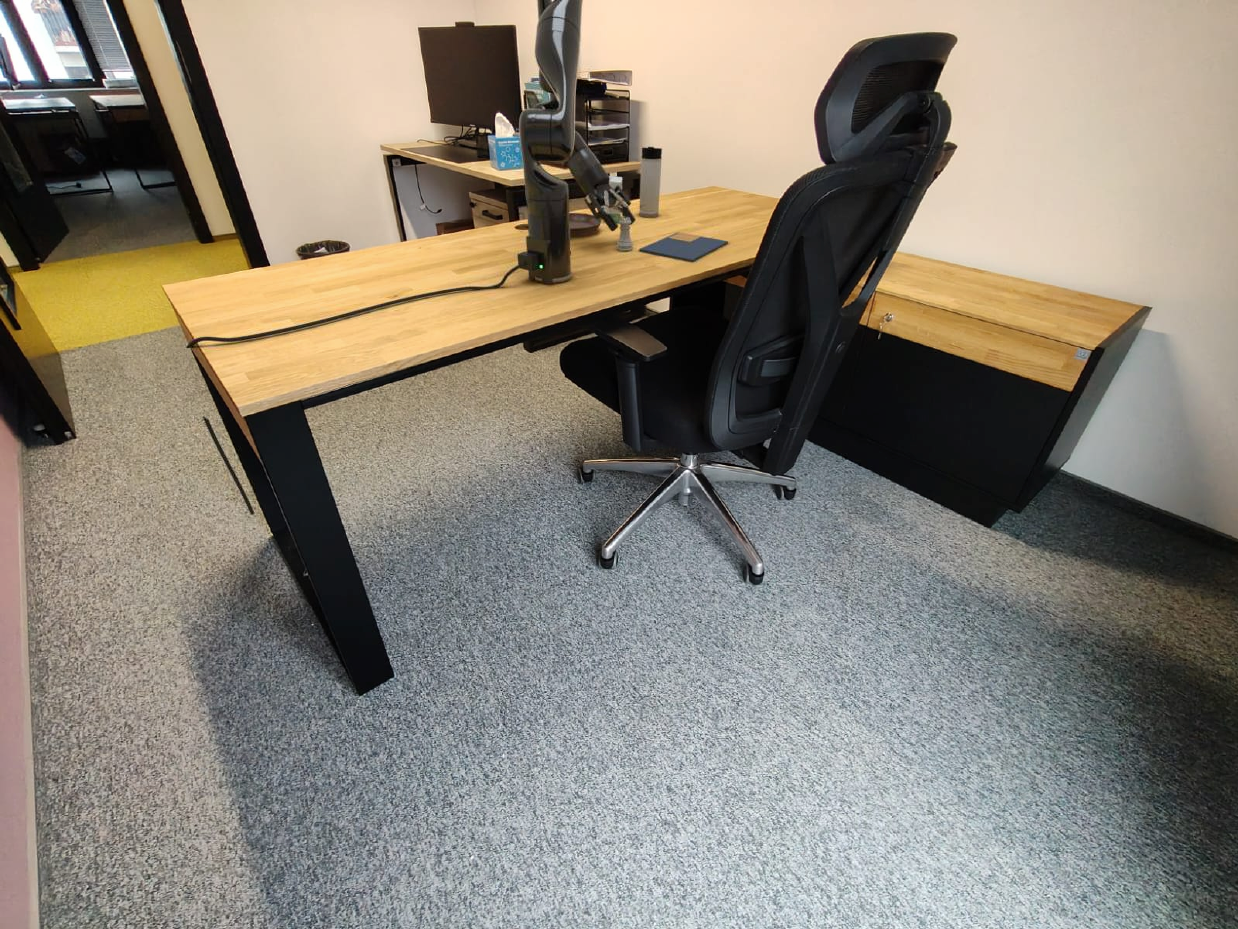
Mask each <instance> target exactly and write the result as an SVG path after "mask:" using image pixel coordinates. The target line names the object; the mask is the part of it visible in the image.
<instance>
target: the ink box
mask: <svg viewBox="0 0 1238 929" xmlns="http://www.w3.org/2000/svg"><path fill="white" fill-rule="evenodd" d="M608 176H609V178H610V181H609V185H610V186H611V187H612V188H613V189H614V188H615V187H616V186H617V185H618V186H620V188H621V189H622V190H623V177H622V176H610V175H608ZM616 202H617V200H616ZM619 206H620V205H619ZM620 207H621V206H620ZM621 208H622V207H621ZM608 209H609V214H611V216H612V217H613V219H614V220H615V222H616V223H617V224H620V223H619V221H620V219H621V217H622V213H621V212H620V211H618V210H617V209H616V210H614V209H613V208H608Z"/></svg>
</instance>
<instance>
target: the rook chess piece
mask: <svg viewBox="0 0 1238 929" xmlns="http://www.w3.org/2000/svg"><path fill="white" fill-rule="evenodd" d="M630 223H631V220H630V217H626V218H625V217H623V216H620V221H619V223H618V224H620V226H619V229H620V231H619V236H618V237H619V238H618V239H617V241H616V245H617V246H615V248H616V250H617V251H618V252H631V251H632V250H633V248H634V247H633V242H632V239H631V233H630V229H631V225H630Z"/></svg>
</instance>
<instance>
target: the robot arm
mask: <svg viewBox="0 0 1238 929" xmlns="http://www.w3.org/2000/svg"><path fill="white" fill-rule="evenodd" d="M583 3H584V0H537V1H536V4H537V19H538V20H537V25H536V33H535V42H534V57H535V62H536V64H537V65H536V66H537V67H538V86H539V87H540V89H541V90H542V91H543V92H545V93H548V94H549V100H546V101H542V102H539V103H536V104H535V105H534V106H533V107H532V108H525V109H523V110H522V112H521V113H520V116H519V120H518V122H519V123H518V127H519V128H518V133H519V144H520V152H521V158H522V168H523V169H522V170H523V179H524V181H523V182H524V189H525V202H526V216H527V217H526V218H527V231H528V235H526V236H525V245H526V251H523V252H522V251H521V252H519V253H517V254H516V255H517V265H515V266H514V267H512V268H511V269H509V270H508V272H506V273H505V274H504V276H503V278H502V279H501V281H500V282H498V283H496V284H493V285H490V286H472V285H471V286H461V287H454V288H448V289H447V288H446V289H442V290H436V291H430V292H426V293H425V292H424V293H420V294H416V295H415V294H414V295H411V296H406V297H402V298H398V299H395V300H390V301H386V302H382V303H379V304H375V305H371V306H367V307H364V308H359V309H356V310H351V311H348V312H345V313H341V314H338V315H333V316H330V317H326V318H322V319H317V320H313V321H309V322H306V323H302V324H297V325H292V326H288V327H284V328H278V329H274V330H269V331H264V332H259V333H254V334H253V333H252V334H248V335H242V336H235V337H219V336H199V337H196V338H194V339H192V340H191V341H190V342H189V343H188V344H187V345H186V347H185V349H192V348H194V346H196V345H197V344H198V343H201V342H218V343H219V342H220V343H235V342H243V341H249V340H254V339H260V338H264V337H269V336H275V335H279V334H283V333H288V332H292V331H297V330H302V329H306V328H309V327H314V326H318V325H322V324H326V323H329V322H333V321H337V320H341V319H344V318H345V319H346V318H348V317H351V316H355V315H360V314H363V313H366V312H371V311H374V310H377V309H380V308H385V307H389V306H392V305H396V304H401V303H405V302H410V301H413V300H418V299H422V298H428V297H432V296H437V295H442V294H443V295H444V294H449V293H456V292H461V291H482V290H483V291H484V290H485V291H486V290H494V289H498V288H500V287H502V285H504V284H505V283H506V281H507V279H508V278H509V277H510V275H512V274H513V273H514V272H515V271H518V270H519V269H522V270H526V271H527V272H528V273H527V274H528V280H530V281H534V282H539V283H542V284H547V285H552V284H559V283H564V282H567V281H569V280H571V279H572V277H573V274H572V260H571V256H572V250H571V236H570V219H569V213H570V191H569V190H570V189H569V184H568V183H567V181H565V180H564V179H561V178H559V177H557V176H554V174H551V173H549V172H548V171H547V170H546V169H544V167H543V166H542V164H541V162H545V163H546V162H548V163H563V162H564V163H565V165H566V166H567V168H568V170H569V172H570V174H571V175H572V177H573V178H574V180H575V181H576V183H577V185H578V186H579V187H580V189H581V190H582V192H583V193H584V195H585V196H586V197H585V198H584V199H583V201H584V203H585V204H586V206H587V207H588V209H589V211H590V212H591V215H594V217H595V218H596V219H598V218H601V220H602V221H604V223H605V224H606V226H607V228H608V229H609V230H610V231H611V232H615V231H616V230H617V229H618V227H619V225H618V223H616V222H615V220H614V219H613V217H612V216H611V214H609V209H608V208H613V209H614V210H616V209H617V210H618V211H620V212H621V216H622V218H623V217H625V218H626V217H630V220H631V223H630V225H629V226H632V225H633V224H634V223H635V222H636V218H635V216H634V214H633V213H632V212H631V210H630V209H629V208H630V206H631V205H632V202H631V200H630V199H629V198H628V196H627V194H626V193H625V192H624V191H623V188H622V189H621V188H620V186H618V185H617V186H616V187H615V188H614V189H613V188H612V187H611V186H610V185H609V181H610V178H609V176H610V175H609V174H608V173H607V171H606V170H605V168H604V166H602V164H601V162H600V161H599V159H598V158H597V156H596V155H595V153H594V152H593V151H592V150H591V149H590V147H589V146H588V145H587V143H586V141H585V140H584V139H583V136H581V134H580V133H579V132H578V131H577V130H576V90H577V81H578V80H577V79H578V71H579V61H580V52H581V41H582V39H581V38H582V19H583V18H582V17H583V15H582V14H583ZM616 200H617V202H616ZM619 205H620V206H621V207H620V206H619ZM596 209H597V210H596ZM202 419H203V421H204V423H205V426H206V428H207V430H208V432H209V434H210V437H211V439H212V440H213V442H214V445H215V447H216V448H217V451H218V453H219V454H220V457H221V459H222V460H223V462H224V464H225V466H226V468H227V470H228V471H229V474H230V475H231V477H232V479H233V481H234V483H235V485H236V487H237V489H238V491H239V493H240V495H241V496H242V498H243V501H244V503H245V505H246V508H247V509H248V512H249V514H250V515H251V516H252V515H255V511H254V508H253V507H252V504H251V502H250V500H249V498H248V496H247V494H246V492H245V490H244V488H243V486H242V484H241V482H240V480H239V478H238V476H237V474H236V472H235V471H234V468H233V467H232V465H231V463H230V461H229V459H228V456H227V455H226V453H225V451H224V449H223V448H222V445H221V444H220V441H219V439H218V437H217V435H216V434H215V431H214V429H213V426H212V424H211V422H210V420H209V418H207V417H205V416H202Z"/></svg>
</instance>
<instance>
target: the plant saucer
mask: <svg viewBox="0 0 1238 929" xmlns="http://www.w3.org/2000/svg"><path fill="white" fill-rule="evenodd" d="M569 219H570V237H582V236H588V235H591V234H593V233H595V232H596V231H597V230H598V229H599V227H600V226H601V224H602V221H603V220H602V219H601V218H598V219H596V218H595V217H594V215H593V214H589V213H584V212H583V213H581V212H569Z"/></svg>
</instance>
